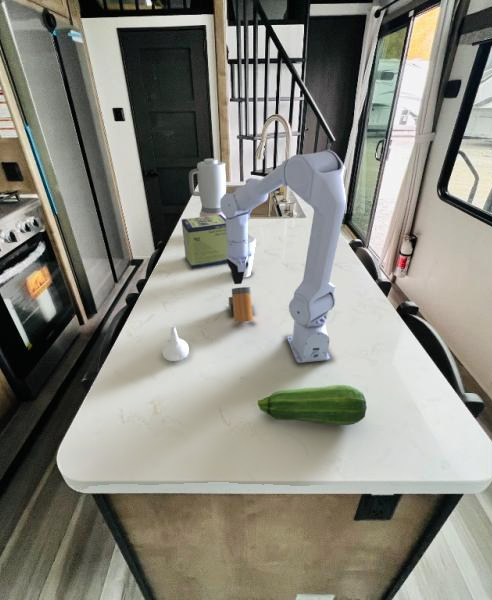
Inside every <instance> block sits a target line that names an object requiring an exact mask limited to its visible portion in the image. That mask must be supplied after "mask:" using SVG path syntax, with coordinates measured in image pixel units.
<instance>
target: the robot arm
mask: <svg viewBox="0 0 492 600" xmlns="http://www.w3.org/2000/svg"><path fill="white" fill-rule="evenodd" d="M345 167H346V165H345V164H344V163H343V161H342V160H341V158H340V157H339V156H338V154H337V153H336V152H334V151H333V150H330V149H324V150H322V151H318V152H312V153H305V154H294V155H292V156H291V157H290V158H288V159H285V160H282V162H281V164H279V165H278V166H276V168H274V169H273V170H272V171H270V172H269V173H267V174H266V175H265V176H264V177H263V178H261V179H260V178H257V177H256V178H254V177H250V178H247V179H246V180H245V183H244V184H243V185H242V186H238V187H235V189H234V192H232V193H231V192H230V193H226V194H224V195H223V197H222V198H221V201H220V206H221V210H222V213H223V214H224V216H225V217H226V242H227V253H226V257H227V263H226V264H227V266H228V268H229V270H230V272H231V278H232V281H233V284H234V285H242V283H243V280H244V278H243V276H244V272H245V271H246V268H247V267H248V261H247V259H248V257H249V256H252V253H251V252H250V251H248V234H249V233H248V231H249V228H248V227H249V220H250V217H251V216H250V215H251V214H252V213H251V212H252V211H253V210H254V209H255V208H257V207H259V206H260V205H262V204H264V203H265V202H266V201H267V200H268V198H269V194H270V193H272V192H274V191H276V190H278V189H280V188H282V187H288V188H289V189H290V190H291V191H292V192H293V193H294V194H296V195H297V196H298V197H299V198H300V199H302V201H304V203H306V205H309V206H310V207H311V208H312V209H313V216H312V223H311V227H310V233H309V234H310V235H309V240H308V245H307V252H306V260H305V265H304V270H303V271H304V272H303V278H302V281H301V282H300V284H299V285H298V286H297V288H296V289H295V291H294V293H293V297H292V299H291V300H290V302H289V305H288V311H289V314H290V316H291V318H292V320H293V321H294V322H293V329H292V330H293V331H292V335H289V336H287V337H286V339H287V342H288V344H289V347H290V349H291V351H292V354H293V356H294V358H295V360H296V363H298V364H303V363H312V362H319V361H320V362H321V361H329V360H330V359H331V356H330V354H329V353H328V352H329V346H330V336H329V333H328V332H327V327H326V325H327V319H328V318H327V317H328V316H329V311H332V310H333V309H334V308H335V305H336V296H335V288H336V287H335V285H334V284H333V283H332V282H330V280H331V275H332V271H333V265H334V262H335V258H336V257H335V256H336V252H337V248H338V242H339V238H340V233H341V229H342V224H343V220H344V219H343V218H344V215H345V209H346V206H347V197H346V191H345V184H344V180H343V177H344V171H345Z"/></svg>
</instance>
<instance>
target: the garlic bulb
mask: <svg viewBox="0 0 492 600" xmlns="http://www.w3.org/2000/svg"><path fill="white" fill-rule="evenodd" d="M169 328H170V333H169V334H170V336H169V337H170V338H169V339H168V340H167V341H165V343H163V345H162V348H161V354H162V356H163V358H164V359H165V360H166V361H170V362H179V361H181V360H184V359H185V358H186V357H188V355H189V352H190V347H189V343H188V342H187V341H186V340H184V339H183V338H179V335H178V332H177V329H176V326H175V325H171V326H170V327H169Z"/></svg>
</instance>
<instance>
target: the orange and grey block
mask: <svg viewBox="0 0 492 600" xmlns="http://www.w3.org/2000/svg"><path fill="white" fill-rule="evenodd" d="M231 297H232V299H233V310H234V316H233V319H234V320H233V321H234V323H243V322H244V323H245V322H253V321H254V315H253V306H252V304H253V303H252V304H251V302H252V295H251V287H250V286H245V287H244V286H243V287H235V288H231Z"/></svg>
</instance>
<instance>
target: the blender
mask: <svg viewBox="0 0 492 600" xmlns="http://www.w3.org/2000/svg"><path fill="white" fill-rule="evenodd" d="M226 165H227V163H226V162H223V161H219V160H218V159H217V158H204V160H203V161H200V162H198V163H197V164H196V168H193V169H191V170H190V171H189V173H188V184H189V193H190V194H191V195H192V196H194V197H199V200H200V203H201V208H200V211H199V217H204V216H212V215H219V214H221V215H222V216H223V217H224V218H225V219H226V217H225V216H224V214H223V213H222V210H221V206H220V201H221V198H222V197H223V195H224V194H227V176H226ZM194 175H197V188H198V191H196V190H195V181H194Z"/></svg>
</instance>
